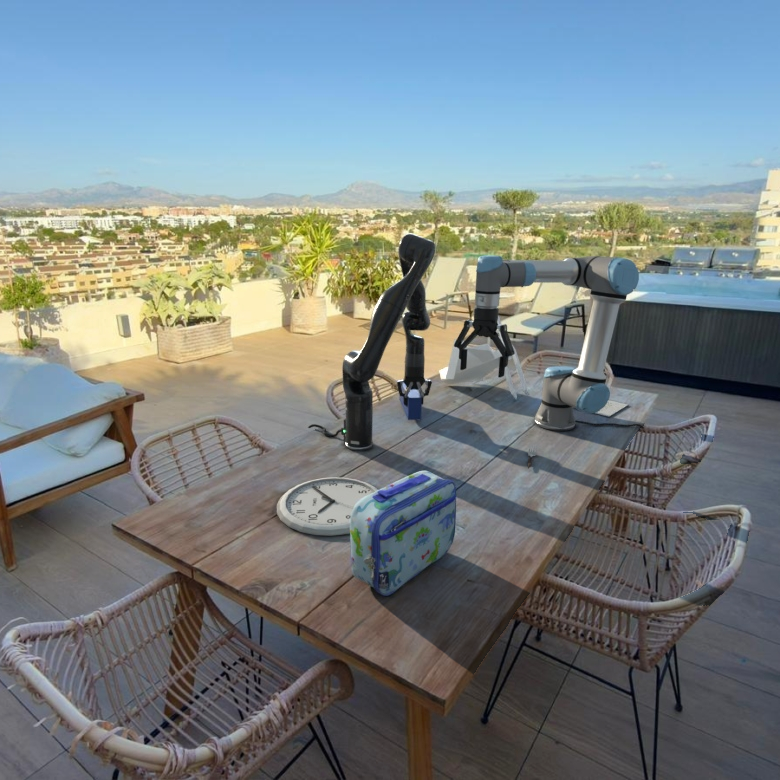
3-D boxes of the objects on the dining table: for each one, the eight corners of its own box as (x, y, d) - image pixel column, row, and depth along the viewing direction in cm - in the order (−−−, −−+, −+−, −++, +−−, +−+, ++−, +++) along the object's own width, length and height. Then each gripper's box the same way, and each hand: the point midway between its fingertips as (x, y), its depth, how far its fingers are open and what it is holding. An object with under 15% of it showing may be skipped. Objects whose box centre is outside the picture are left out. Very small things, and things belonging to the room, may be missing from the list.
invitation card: (608, 416, 214) (573, 407, 224) (608, 416, 214) (573, 408, 224) (628, 404, 229) (594, 396, 238) (628, 405, 229) (594, 397, 238)
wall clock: (392, 527, 129) (268, 531, 127) (391, 533, 130) (269, 537, 127) (383, 473, 158) (282, 475, 155) (383, 478, 158) (282, 480, 156)
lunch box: (378, 608, 104) (379, 516, 98) (343, 583, 112) (342, 495, 105) (459, 554, 122) (465, 473, 116) (425, 535, 129) (428, 458, 123)
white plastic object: (461, 429, 252) (437, 405, 227) (444, 352, 274) (420, 323, 250) (535, 404, 240) (518, 377, 215) (510, 326, 262) (492, 293, 237)
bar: (399, 399, 226) (399, 379, 224) (410, 399, 227) (411, 379, 224) (408, 419, 203) (408, 397, 200) (420, 419, 203) (421, 397, 201)
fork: (523, 469, 166) (524, 463, 165) (529, 450, 180) (529, 445, 179) (532, 470, 165) (532, 464, 164) (536, 451, 179) (537, 446, 179)
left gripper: (397, 366, 196) (396, 409, 201) (434, 366, 197) (433, 408, 202) (394, 361, 203) (394, 403, 208) (431, 361, 204) (429, 402, 209)
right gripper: (445, 304, 167) (442, 368, 173) (519, 312, 153) (513, 382, 159) (457, 301, 172) (454, 364, 179) (529, 309, 158) (522, 377, 165)
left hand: (413, 405), depth 205 cm, fingers closed on bar, 5 cm apart
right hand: (481, 372), depth 169 cm, fingers open, 13 cm apart
